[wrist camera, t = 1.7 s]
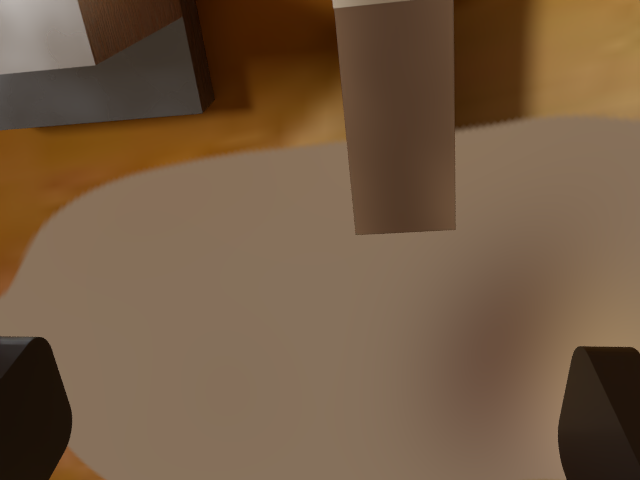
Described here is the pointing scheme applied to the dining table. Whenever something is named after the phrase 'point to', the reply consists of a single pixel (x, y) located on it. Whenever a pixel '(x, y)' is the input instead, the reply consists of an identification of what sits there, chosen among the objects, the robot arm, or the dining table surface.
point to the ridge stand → (100, 61)
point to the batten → (399, 112)
